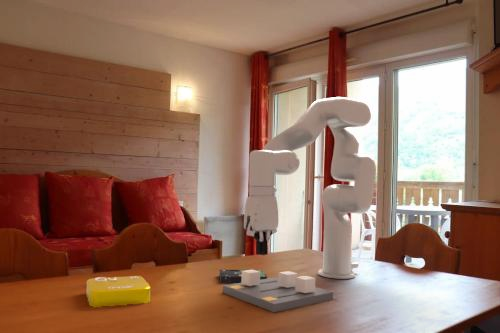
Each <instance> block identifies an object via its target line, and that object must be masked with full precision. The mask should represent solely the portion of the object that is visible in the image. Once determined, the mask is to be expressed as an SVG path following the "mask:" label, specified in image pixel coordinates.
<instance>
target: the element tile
mask: <svg viewBox="0 0 500 333" xmlns="http://www.w3.org/2000/svg"><path fill="white" fill-rule="evenodd" d="M85 292H86V294H85V296H86V298H88V299H87V302H89V303H88V305H90V306H92V307H91V308H96V307H97V308H103V307H102V306H110V307H116V306H115V305H122V306H128V305H127V304H133V305H143V304H142V303H144V304H148V302H149V303H150V302H151V286H150V284H149V282H147V281H146V279H144V277H142V276H141V275H130V276H129V275H128V276H115V277H114V276H113V277H105V276H104V277H103V276H99V277H94V278H89V279H88V280H87V281H86V291H85ZM140 303H141V304H140ZM90 306H89V307H90Z"/></svg>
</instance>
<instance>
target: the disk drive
mask: <svg viewBox="0 0 500 333" xmlns="http://www.w3.org/2000/svg"><path fill="white" fill-rule="evenodd" d="M245 270H246V269H219V283H220V284H235V283H241V279H242V271H245ZM255 270H256V271H259V272H260V280H261V279H268V276H267V274H266V273H265V271H264V270H262V269H261V270H259V269H258V270H257V269H255Z"/></svg>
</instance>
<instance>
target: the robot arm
mask: <svg viewBox="0 0 500 333" xmlns="http://www.w3.org/2000/svg"><path fill="white" fill-rule="evenodd" d="M372 113H373V112H372V109H371V107H370V105H369V104H368V103H367V102H365V101H363V100H359V99H353V98H350V97H343V96H336V97H327V98H321V99H317V100H315V101H314V102H312V103H311V104H310V105H309V107H308V108H307V109H306V110H305V111H304V113H303V114H302V115H301V116H300V117H299V119H298V120H297V121H296V122H295V123H294V124H293V125H291V126H289V127H288V128H286V129H285V130H284V131H282V132H280V133H278V134H277V135H276V136H274V137H272V138H271V139H270V140H269V141H268V142H267V143H266V144H265V145H264V146H263V148H262V149H261V150H258V149H254V150H252V151H250V153H249V159H248V160H249V163H248V164H249V165H248V166H249V167H248V168H249V178H248V179H249V180H248V182H249V183H248V184H249V186H248V188H249V189H248V190H249V194H248V195H249V196H247V197H246V200H245V206H244V213H243V214H244V215H243V229H244V230H246V236H249V237H252V238H253V239H254V241H255V242H256V243H255V244H256V245H255V246H256V247H255V249H256V254H257V255H260V256H266V255H268V247H269V246H268V242H269V241H270V237H271V236H272V235H274V234H276V233H277V232H278V229H277V228H279V209H278V208H279V207H278V201H277V196H276V192H277V187H275V186H276V185H275V184H276V183H275V182H276V181H275V180H276V179H275V178H276V175H281V176H287V175H292V174H294V173H295V172H297V170H298V169H299V167H300V158H299V156H298V154H297V153H296V152H294V151H296V150H299V149H302V148H305V147H307V146H310V145H311V144H313V143H314V142H315V141H316V140H317V138H318V137H319V136H320V135H321V134H322V133H323V131H324V130H325V129H326V127H327V126H328V127H329V129H330V130H331V133H332V135H333V137H334V146H333V151H332V153H333V155H332V160H331V166H330V176H331V177H332V178H333V179H334V180H336V181H339V182H350V183H351V182H353V184H341V183H340V184H336V183H335V184H330V185H327V186H326V187H325V188H324V190H323V191H322V194H321V203H322V208H323V209H322V210H323V252H322V254H323V256H322V268H320V269H319V270H318V275H319V276H322V277H324V278H329V279H336V280H346V279H347V280H348V279H349V280H350V279H354V278H355V277H356V273H355V271H353V269H357V268H358V267H359V263H358V262H357V261H355V262H352V237H353V236H352V231H353V230H352V228H353V226H352V225H353V224H352V220H351V219H350V216H349V214H357V215H358V214H359V215H361V214H365V213H367V212H368V211H369V210H370V208H371V205H372V204H373V203H372V201H373V198H374V197H373V196H374V189H375V182H376V176H377V165H376V161H375V160H374V158H373V157H372V156H371V155H368V154H366V153H365V154H364V153H360V154H359V147H360V141H359V138H358V136H357V134H356V132H355V131H354V129H353V128H361V127H365V126H366V125H368V124H369V123H370V121H371V120H372V115H373V114H372Z"/></svg>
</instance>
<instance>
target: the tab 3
mask: <svg viewBox="0 0 500 333" xmlns="http://www.w3.org/2000/svg"><path fill="white" fill-rule="evenodd" d="M315 287H316V277H313V276H309V275H302V276H297V277H296V285H295V290H296V291H299V292H302V293H309V292H314V291H315Z"/></svg>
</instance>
